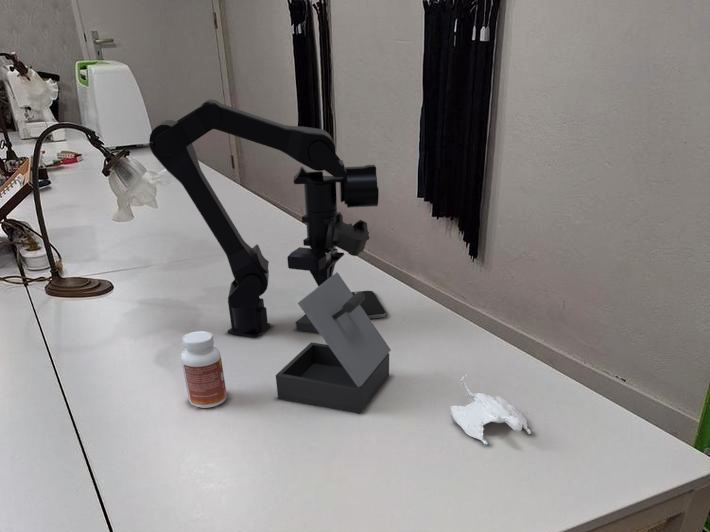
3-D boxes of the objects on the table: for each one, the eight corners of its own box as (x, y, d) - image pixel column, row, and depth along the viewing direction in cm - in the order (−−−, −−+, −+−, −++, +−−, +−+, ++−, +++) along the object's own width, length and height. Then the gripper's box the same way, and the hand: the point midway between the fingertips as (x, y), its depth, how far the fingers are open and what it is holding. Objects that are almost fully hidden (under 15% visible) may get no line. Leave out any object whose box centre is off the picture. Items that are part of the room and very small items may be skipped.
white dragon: (429, 399, 105) (430, 376, 103) (484, 387, 108) (486, 365, 106) (486, 456, 92) (489, 430, 89) (548, 440, 94) (552, 416, 92)
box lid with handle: (297, 303, 96) (320, 286, 93) (333, 274, 106) (355, 257, 103) (358, 387, 100) (382, 373, 97) (387, 352, 110) (410, 338, 107)
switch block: (296, 330, 130) (294, 313, 128) (312, 315, 136) (311, 299, 134) (342, 336, 127) (341, 319, 125) (357, 321, 133) (357, 304, 131)
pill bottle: (233, 402, 107) (224, 338, 100) (198, 413, 104) (186, 348, 97) (217, 387, 111) (208, 325, 104) (183, 398, 108) (171, 335, 102)
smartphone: (372, 289, 145) (387, 313, 133) (372, 293, 146) (387, 317, 134) (338, 292, 144) (350, 317, 132) (339, 296, 145) (351, 320, 133)
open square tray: (277, 398, 107) (275, 375, 105) (312, 364, 117) (311, 342, 115) (360, 413, 102) (360, 389, 100) (389, 376, 112) (389, 353, 110)
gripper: (342, 225, 109) (345, 315, 118) (380, 199, 123) (380, 282, 132) (282, 220, 112) (289, 307, 122) (326, 196, 126) (329, 276, 135)
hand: (325, 293), depth 127 cm, fingers closed
